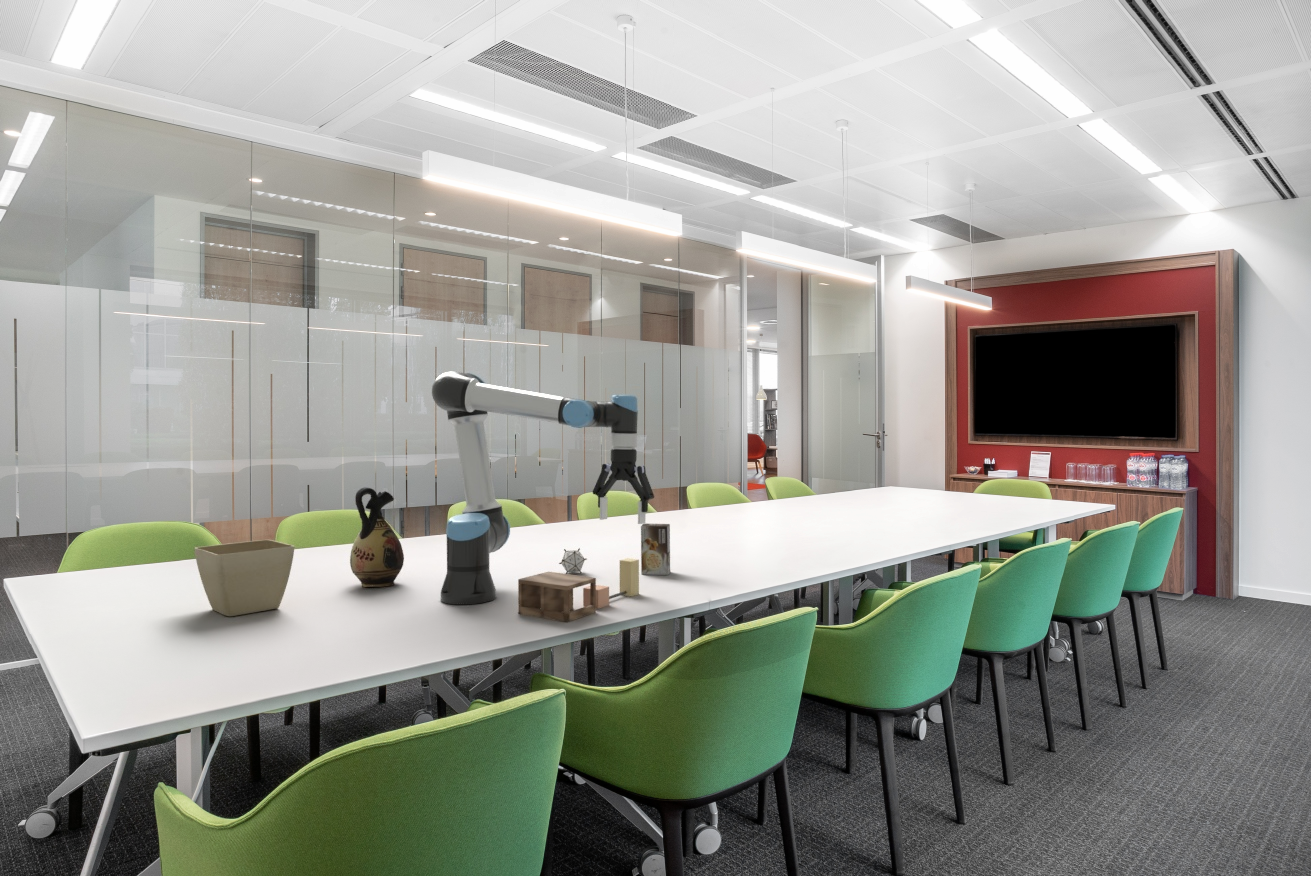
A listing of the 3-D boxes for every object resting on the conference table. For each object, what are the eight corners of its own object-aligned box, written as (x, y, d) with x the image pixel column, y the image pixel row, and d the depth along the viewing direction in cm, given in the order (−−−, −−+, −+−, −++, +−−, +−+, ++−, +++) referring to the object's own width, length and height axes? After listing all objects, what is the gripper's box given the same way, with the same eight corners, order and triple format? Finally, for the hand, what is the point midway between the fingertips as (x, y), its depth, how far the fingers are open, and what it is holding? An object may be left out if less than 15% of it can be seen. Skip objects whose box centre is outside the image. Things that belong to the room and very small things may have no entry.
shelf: (548, 604, 210) (548, 571, 209) (595, 612, 201) (595, 577, 201) (518, 613, 199) (518, 579, 199) (566, 622, 191) (566, 586, 191)
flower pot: (193, 609, 204) (192, 546, 203) (268, 597, 217) (268, 538, 217) (218, 622, 191) (217, 554, 190) (296, 609, 205) (296, 545, 204)
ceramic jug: (383, 577, 245) (383, 484, 245) (414, 583, 236) (413, 486, 236) (334, 586, 232) (334, 487, 231) (364, 593, 223) (364, 490, 222)
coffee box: (671, 571, 256) (671, 523, 255) (668, 575, 249) (668, 526, 249) (643, 570, 257) (643, 522, 257) (640, 574, 251) (640, 525, 250)
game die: (576, 585, 252) (580, 564, 246) (553, 575, 253) (556, 554, 247) (588, 567, 259) (592, 547, 253) (565, 558, 260) (569, 537, 254)
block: (626, 592, 225) (626, 558, 225) (640, 594, 222) (640, 559, 222) (583, 606, 208) (583, 569, 207) (598, 608, 205) (598, 571, 205)
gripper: (667, 449, 219) (665, 524, 220) (597, 446, 233) (595, 516, 233) (652, 450, 213) (650, 526, 213) (581, 446, 226) (580, 518, 227)
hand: (622, 521), depth 223 cm, fingers open, 13 cm apart
